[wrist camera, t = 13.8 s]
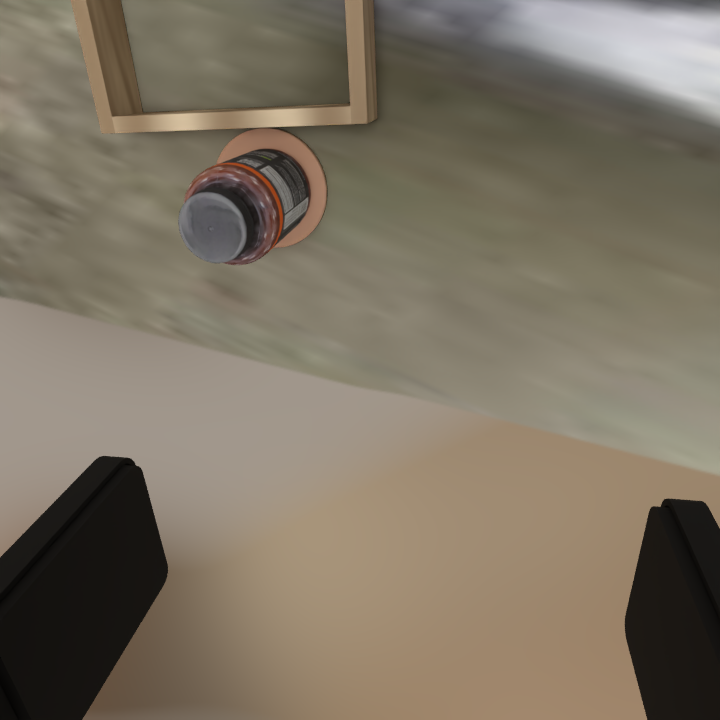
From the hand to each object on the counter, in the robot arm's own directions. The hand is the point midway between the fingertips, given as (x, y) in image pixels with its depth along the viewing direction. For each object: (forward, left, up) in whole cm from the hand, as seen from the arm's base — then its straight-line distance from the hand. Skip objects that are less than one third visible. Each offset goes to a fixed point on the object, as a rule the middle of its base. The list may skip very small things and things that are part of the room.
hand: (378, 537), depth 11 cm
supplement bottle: (+13, 0, -33) cm, 35 cm away
